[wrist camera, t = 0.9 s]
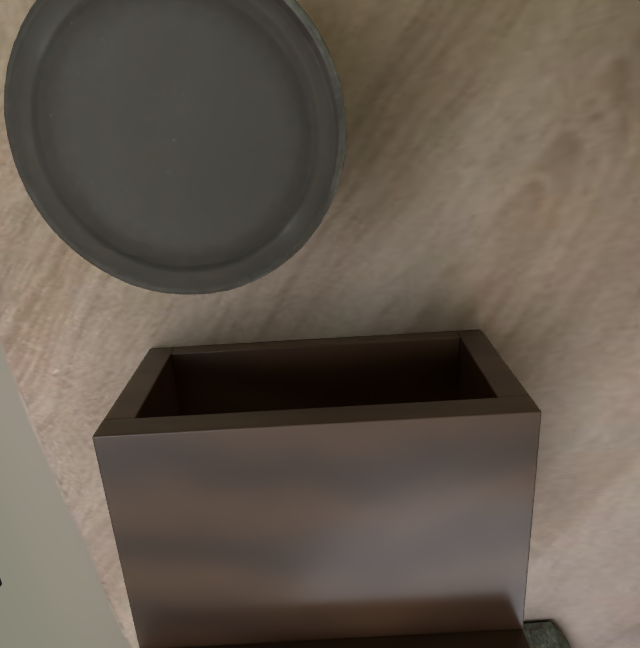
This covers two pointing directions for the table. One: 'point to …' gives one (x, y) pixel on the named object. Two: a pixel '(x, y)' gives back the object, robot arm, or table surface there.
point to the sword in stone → (544, 636)
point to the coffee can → (176, 134)
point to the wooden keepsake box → (324, 493)
